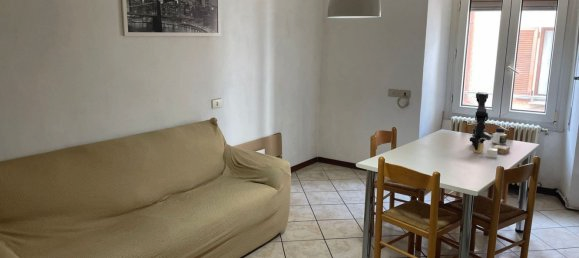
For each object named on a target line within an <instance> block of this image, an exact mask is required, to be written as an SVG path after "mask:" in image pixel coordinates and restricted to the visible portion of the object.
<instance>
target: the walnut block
mask: <svg viewBox="0 0 579 258" xmlns="http://www.w3.org/2000/svg"><path fill="white" fill-rule="evenodd" d="M491 148H494V149H498V151H497V154H500V155H507V154H509V153H510V151H511V150H510V149H511V146H506V145H502V144H500V145H499V144H495V145H494V146H492V147H491Z"/></svg>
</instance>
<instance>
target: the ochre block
mask: <svg viewBox="0 0 579 258" xmlns="http://www.w3.org/2000/svg"><path fill="white" fill-rule="evenodd" d="M484 145H485V144H484V142H483V143H479V145H478V149H477V151H476V150H475V148H474V146H473V148H472V151H474V152H475V153H483V152H484ZM474 152H473V153H474Z"/></svg>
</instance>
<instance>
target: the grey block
mask: <svg viewBox="0 0 579 258" xmlns="http://www.w3.org/2000/svg"><path fill="white" fill-rule="evenodd" d="M497 151H498V149H494V148H492V147H488V148H487V150H486V157H487V158H495V159H496V158H497V157H498V153H497Z"/></svg>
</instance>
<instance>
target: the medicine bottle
mask: <svg viewBox="0 0 579 258" xmlns="http://www.w3.org/2000/svg"><path fill="white" fill-rule="evenodd" d="M505 132H506V129H505V128H504V127H501V126H500V127H496V128H495V133H492V134H493V137H492V138H491V142H492V144H495V145H506V144H507V139H508V134H505Z"/></svg>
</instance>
